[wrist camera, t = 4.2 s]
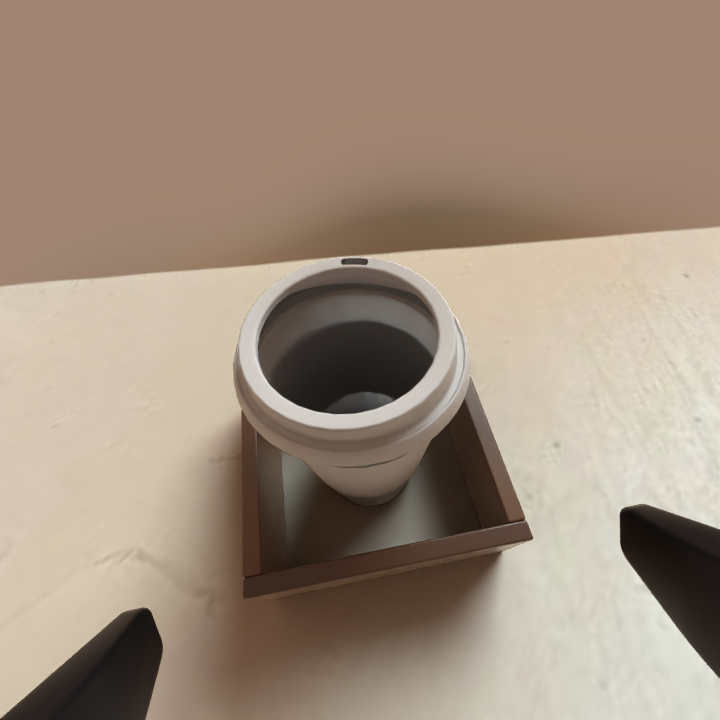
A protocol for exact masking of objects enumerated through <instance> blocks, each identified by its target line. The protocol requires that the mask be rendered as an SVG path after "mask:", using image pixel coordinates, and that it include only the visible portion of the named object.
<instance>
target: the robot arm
mask: <svg viewBox="0 0 720 720" xmlns="http://www.w3.org/2000/svg"><path fill="white" fill-rule="evenodd" d="M620 544H621V548H622V551H623V554H624V555H625V557H626V559H627V560H628V562H629V563H630V564H631V566H632V567H633V568H634V570H635V571H636V572H637V574H638V575H639V576H640V578H641V579H642V581H643V582H644V583H645V585H646V586H647V587H648V589H649V590H650V591H651V593H652V594H653V595H654V597H655V598H656V599H657V601H658V602H659V603H660V605H661V606H662V608H663V609H664V610H665V612H666V613H667V614H668V616H669V617H670V618H671V620H672V621H673V622H674V624H675V625H676V626H677V628H678V629H679V630H680V632H681V633H682V634H683V635H684V637H685V638H686V639H687V641H688V642H689V643H690V644H691V646H692V647H693V648H694V649H695V650H696V652H697V653H698V654H699V655H700V656H701V658H702V659H703V660H704V661H705V662H706V663H707V665H708V666H709V667H710V668H711V669H712V670H713V671H714V673H715V674H716V675H717V676H718V677H719V678H720V529H717V528H714V527H711V526H708V525H705V524H702V523H699V522H696V521H693V520H691V519H688V518H685V517H682V516H679V515H676V514H673V513H670V512H667V511H664V510H661V509H658V508H655V507H652V506H649V505H646V504H639V505H634V506H629V507H625V508H623V509H622V510H621V512H620ZM162 652H163V645H162V640H161V637H160V634H159V632H158V629H157V626H156V624H155V621H154V618H153V616H152V613H151V611H150V610H149V609H148V608H139V609H134V610H129V611H126V612H123V613H121V614H120V615H119V616H118V617H117V618H115V619H114V620H113V621H112V622H111V623H110V624H109V625H107V626H106V627H105V628H104V629H103V630H102V631H101V632H99V633H98V634H97V635H96V636H95V637H94V638H93V639H91V640H90V641H89V642H88V643H87V644H86V645H84V646H83V647H82V648H81V649H80V650H79V651H78V652H76V653H75V654H74V655H73V656H72V657H71V658H70V659H68V660H67V661H66V662H65V663H64V664H63V665H62V666H60V667H59V668H58V669H57V670H56V671H55V672H53V673H52V674H51V675H50V676H49V677H48V678H47V679H45V680H44V681H43V682H42V683H41V684H40V685H39V686H37V687H36V688H35V689H34V690H33V691H32V692H31V693H29V694H28V695H27V696H26V697H25V698H24V699H22V700H21V701H20V702H19V703H18V704H17V705H16V706H14V707H13V708H12V709H11V710H10V711H9V712H8V713H6V714H5V715H4V716H3V717H2V718H1V719H0V720H145V719H146V715H147V711H148V708H149V704H150V700H151V696H152V693H153V689H154V685H155V681H156V677H157V674H158V670H159V666H160V662H161V658H162Z"/></svg>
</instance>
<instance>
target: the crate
mask: <svg viewBox="0 0 720 720" xmlns="http://www.w3.org/2000/svg"><path fill="white" fill-rule="evenodd" d="M448 426H449V429H450V432H451V435H452V438H453V442H454V445H455V448H456V451H457V454H458V457H459V460H460V463H461V466H462V469H463V472H464V475H465V478H466V482H467V485H468V488H469V491H470V494H471V497H472V500H473V503H474V506H475V509H476V512H477V515H478V519H479V522H480V525H481V528H482V529H479V530H474V531H469V532H464V533H459V534H455V535H450V536H445V537H440V538H435V539H430V540H426V541H421V542H416V543H411V544H406V545H401V546H396V547H392V548H387V549H382V550H377V551H372V552H367V553H362V554H358V555H353V556H348V557H343V558H338V559H333V560H328V561H324V562H319V563H314V564H309V565H304V566H299V567H295V568H290V569H288V556H287V540H286V525H285V509H284V493H283V478H282V462H281V449H279V448H277V447H276V446H274V445H273V444H271V443H270V442H268V441H267V440H266V439H265V438H264V437H263V436H262V435H260V434H259V433H258V432H257V430H256V429H255V428H254V427H253V426H252V425H251V423H250V422H249V421H248V419H247V417H246V416H245V414H244V412H243V410H242V542H243V578H244V579H243V598H244V599H245V600H248V599H272V598H281V597H285V596H290V595H295V594H300V593H305V592H309V591H314V590H319V589H324V588H329V587H333V586H338V585H343V584H348V583H353V582H357V581H362V580H367V579H372V578H377V577H381V576H386V575H391V574H396V573H401V572H405V571H410V570H415V569H420V568H425V567H429V566H434V565H439V564H444V563H449V562H453V561H458V560H463V559H468V558H473V557H477V556H482V555H487V554H492V553H497V552H501V551H505V550H507V549H510V548H512V547H515V546H518V545H520V544H523V543H525V542H528V541H531V540H532V539H533V536H532V534H531V531H530V529H529V526H528V523H527V522H526V521H525V516H524V513H523V511H522V508H521V505H520V503H519V500H518V498H517V495H516V493H515V490H514V487H513V485H512V482H511V480H510V477H509V475H508V472H507V469H506V467H505V464H504V462H503V459H502V457H501V454H500V451H499V449H498V446H497V444H496V441H495V439H494V436H493V433H492V431H491V428H490V426H489V423H488V420H487V418H486V415H485V413H484V410H483V408H482V405H481V402H480V400H479V397H478V395H477V392H476V390H475V387H474V384H473V382H472V379H471V377H470V380H469V385H468V389H467V392H466V395H465V398H464V400H463V402H462V404H461V406H460V408H459V409H458V411H457V413H456V414H455V415H454V417H453V418H452V419H451V421H450V422H449V423H448Z"/></svg>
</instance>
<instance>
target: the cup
mask: <svg viewBox="0 0 720 720" xmlns="http://www.w3.org/2000/svg"><path fill="white" fill-rule="evenodd" d="M233 371H234V385H235V389H236V394H237V398H238V401H239V404H240V406H241V408H242V410H243V412H244V414H245V416H246V417H247V419H248V421H249V422H250V423H251V425H252V426H253V427H254V428H255V429H256V430H257V432H258V433H259V434H260V435H262V436H263V437H264V438H265V439H266V440H267V441H268V442H270V443H271V444H273V445H274V446H276V447H277V448H279V449H281V450H282V451H284V452H286V453H288V454H290V455H292V456H295V457H297V458H300V459H302V460H303V461H304V462H305V463H306V464H307V465H308V466H309V467H310V468H311V469H312V470H313V471H314V472H315V473H316V474H317V475H318V476H319V477H320V478H321V479H322V480H323V481H324V482H325V483H326V484H327V485H329V486H330V487H332V488H333V489H335V490H336V491H337V492H338V493H339V494H340V495H341V496H343V497H344V498H345V499H347V500H349V501H351V502H353V503H356V504H359V505H365V506H372V505H379V504H382V503H385V502H387V501H389V500H391V499H393V498H394V497H395V496H397V495H398V494H399V493H400V492H401V491H402V489H403V488H404V487H405V485H406V483H407V481H408V479H409V478H410V477H411V476H412V474H413V473H414V472H415V470H416V468H417V466H418V465H419V463H420V461H421V459H422V457H423V455H424V453H425V451H426V449H427V447H428V445H429V443H430V441H431V439H432V438H434V437H435V436H436V435H437V434H438V433H439V432H440V431H441V430H443V428H444V427H445V426H446V425H447V424H448V423H449V422H450V421H451V419H452V418H453V417H454V415H455V414H456V413H457V411H458V409H459V408H460V406H461V404H462V402H463V400H464V398H465V395H466V392H467V389H468V385H469V380H470V372H471V362H470V354H469V349H468V344H467V339H466V336H465V334H464V332H463V329H462V327H461V325H460V323H459V321H458V319H457V318H456V316H455V315H454V314H453V312H452V311H451V310H450V308H449V306H448V304H447V302H446V300H445V299H444V298H443V296H442V295H441V294H440V292H439V291H438V290H437V289H436V288H435V287H434V286H433V285H432V284H431V283H430V282H428V281H427V280H426V279H425V278H424V277H423V276H421V275H419V274H417V273H416V272H414V271H412V270H411V269H409V268H407V267H404V266H402V265H399V264H396V263H394V262H391V261H387V260H382V259H377V258H371V257H358V256H352V257H337V258H332V259H327V260H321V261H317V262H314V263H312V264H309V265H306V266H303V267H300V268H298V269H296V270H294V271H292V272H291V273H289V274H287V275H285V276H283V277H282V278H281V279H279V280H278V281H276V282H275V283H274V284H272V285H271V286H270V287H268V288H267V289H266V290H265V291H264V292H263V293H262V294H261V295H260V296H259V298H258V299H257V300H256V302H255V303H254V304H253V306H252V307H251V309H250V310H249V312H248V313H247V316H246V318H245V320H244V322H243V325H242V327H241V331H240V336H239V342H238V344H237V347H236V352H235V358H234V363H233Z"/></svg>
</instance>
